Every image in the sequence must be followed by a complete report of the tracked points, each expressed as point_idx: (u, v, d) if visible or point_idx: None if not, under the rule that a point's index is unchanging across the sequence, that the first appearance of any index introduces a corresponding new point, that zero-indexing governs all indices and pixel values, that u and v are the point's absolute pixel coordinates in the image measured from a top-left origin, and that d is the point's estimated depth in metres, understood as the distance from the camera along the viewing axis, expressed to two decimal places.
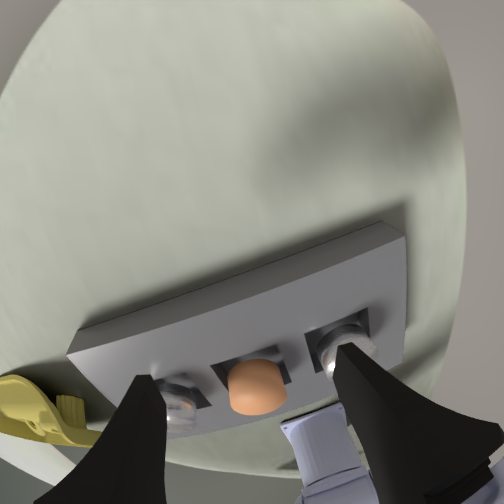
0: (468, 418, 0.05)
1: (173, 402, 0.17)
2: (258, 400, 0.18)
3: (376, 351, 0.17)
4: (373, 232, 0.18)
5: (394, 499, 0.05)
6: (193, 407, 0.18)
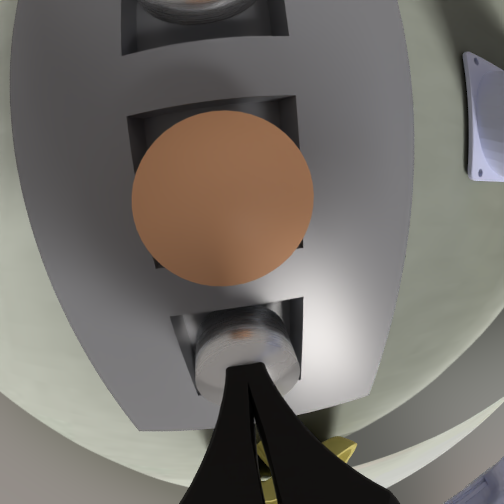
0: (355, 476, 0.04)
1: (199, 356, 0.10)
2: (220, 204, 0.06)
3: None
4: None
5: None
6: (235, 329, 0.10)
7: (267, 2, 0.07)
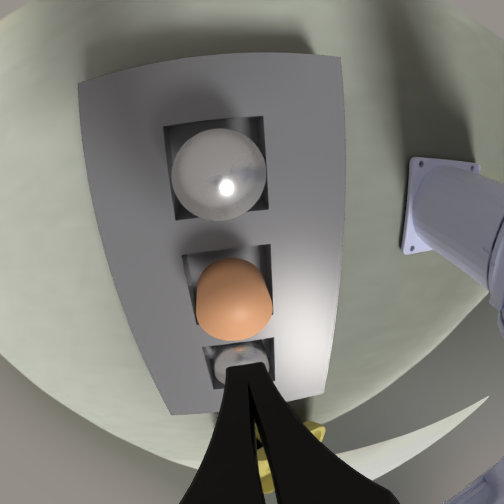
0: (355, 476, 0.04)
1: (217, 358, 0.19)
2: (233, 312, 0.14)
3: (203, 134, 0.11)
4: None
5: None
6: (235, 344, 0.19)
7: None
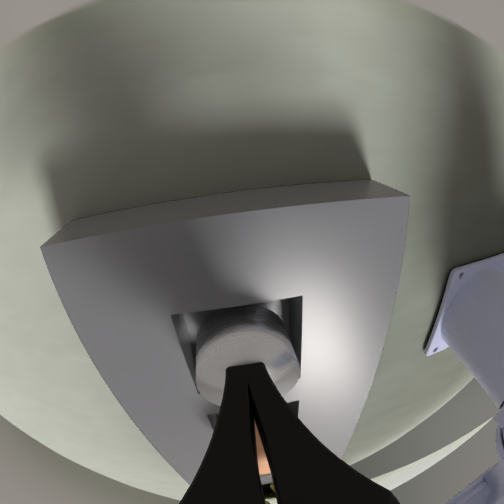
0: (355, 476, 0.04)
1: None
2: (262, 463, 0.12)
3: (230, 351, 0.09)
4: None
5: None
6: None
7: (289, 315, 0.14)
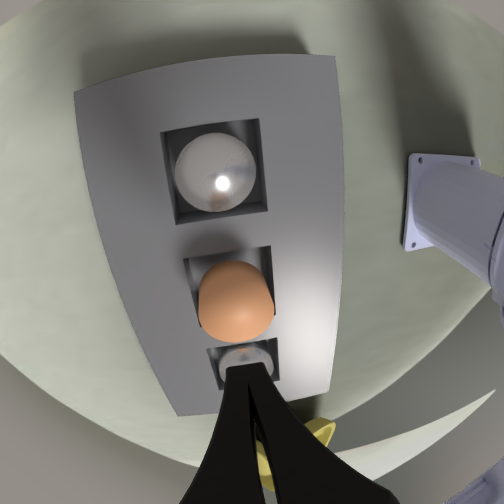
0: (355, 476, 0.04)
1: (221, 359, 0.19)
2: (235, 314, 0.15)
3: (201, 138, 0.13)
4: None
5: None
6: (239, 345, 0.19)
7: (257, 162, 0.16)
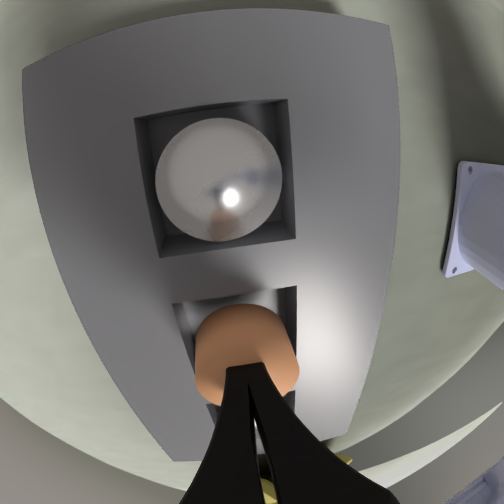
0: (355, 476, 0.04)
1: None
2: None
3: (196, 126, 0.08)
4: None
5: None
6: None
7: None
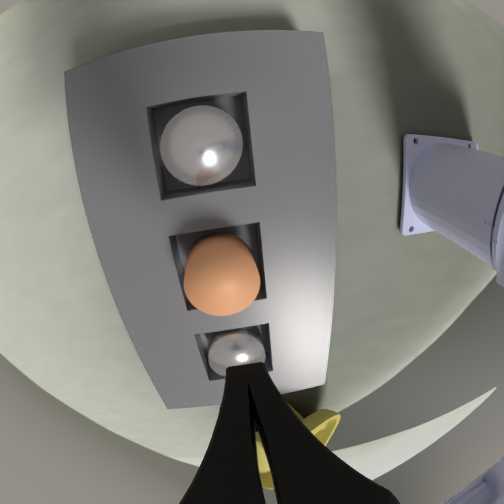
0: (355, 476, 0.04)
1: (210, 346, 0.19)
2: (220, 285, 0.15)
3: (186, 111, 0.12)
4: None
5: None
6: (229, 331, 0.19)
7: (246, 139, 0.15)
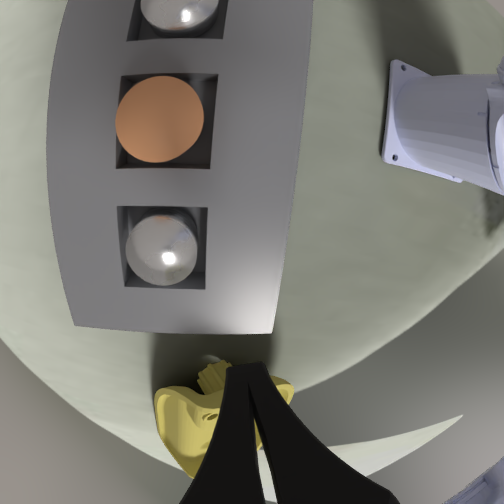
0: (355, 476, 0.04)
1: None
2: (156, 118, 0.11)
3: None
4: None
5: None
6: (159, 213, 0.15)
7: (225, 17, 0.12)
